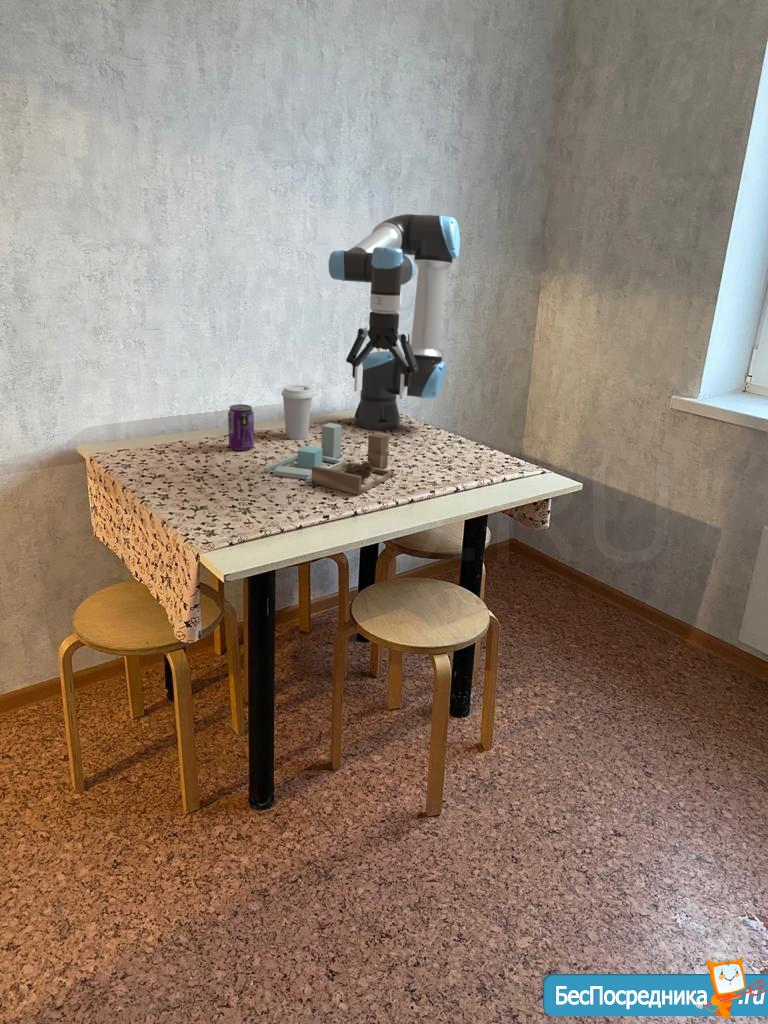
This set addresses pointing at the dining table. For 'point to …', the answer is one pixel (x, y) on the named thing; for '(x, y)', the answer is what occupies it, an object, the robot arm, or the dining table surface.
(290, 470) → the grey rectangular block
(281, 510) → the dining table surface
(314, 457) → the teal block
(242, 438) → the beverage can
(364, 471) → the rock sample
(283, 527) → the dining table surface
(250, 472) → the dining table surface
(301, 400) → the coffee cup
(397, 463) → the dining table surface
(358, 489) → the brown open frame
